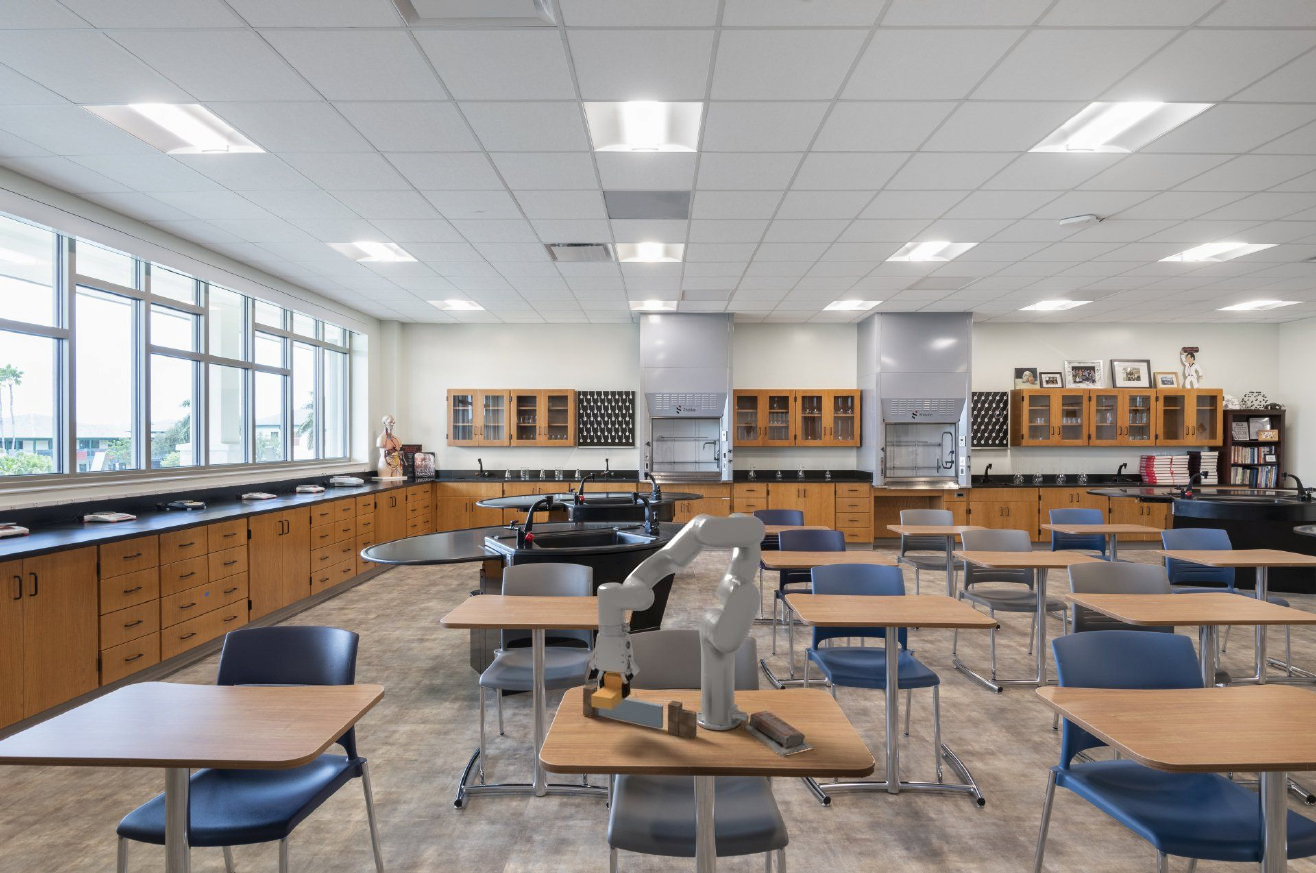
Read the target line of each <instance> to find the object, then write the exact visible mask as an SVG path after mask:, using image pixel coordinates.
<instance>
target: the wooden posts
mask: <svg viewBox="0 0 1316 873" xmlns="http://www.w3.org/2000/svg"><path fill="white" fill-rule="evenodd" d="M597 691H598V685H594V684H587V685H586V686H584V687H583V689H582V716H583V715H585V716H584V717H587V716H588V717H587V718H591V717H592V718H593V717H594V715H595V716H597V715H596V707H592V702H591V695H593V694H594V693H595V692H597ZM697 713H698V712H697V711H694V710H690V709H683V701H676V700H671V701H670V702H669V703H668V704H667V735H671V736H675V737H679V736H682V737H685V738H690V739H696V737H698V736H697V733H698V732H697V726H698V724H697Z"/></svg>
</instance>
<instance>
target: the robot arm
mask: <svg viewBox="0 0 1316 873" xmlns="http://www.w3.org/2000/svg"><path fill="white" fill-rule="evenodd" d="M766 531H767V529H766V526H765V524H764V522H763V520H761V519H760V518H759V517H757V516H754V515H751V514H747V513H744V512H732V513H731V514H730V515H728V516H727V517H726V516H725V517H724V516H714V515H711V514H706V513H700V514H697V515H695V516H694V517H693V518H691V519H690V520H689V522H688V523H686V524H685V525H684V526H683V528H682V529H681V530H679V531H678V532H677V533H676V535H674V536H673V537H672V538H671V539H670V540H669V541H668V542H667V543H666V544H665V545H664V546H663V547H662V548H661V549H658V550H657V551H656V552H655V553H653V554H652V555H651V556H649V557H647V558H646V559H644V561H642V562H641V563H640V564H639V565H638V566H637V567H636V568H635V569H634V570H633V571H632V572H631V573H630V574H629V575H628V576H627V577H626V578H625V580H624V581H623V583H619V582H606V583H602V584H600V585H599V586H598V587H597V591H596V592H597V593H596V594H597V614H598V615H597V616H598V618H597V619H598V633H597V635H596V638H595V640H596V641H595V648H594V649H595V650H594V658H592V660H591V661H590V662H588V667H589V668H590V669H591V670H592V671H593V673H594V674H595V676H596V678H597V680H598V682H599V685H598V686H599V689H601V688H602V687H603V686H604V675H605V674H606V673H607V672H616V673H620V675H621V677H622V680H623V683H622V698H626V697H627V696H628V695H629V694H630V687H631V681H632V679H634V677H635V676H637V674H638V673H639V672H640V671H641V668H640V667H639V666H638V664H637V663H636V662H635V661H634V651H633V644H632V640H631V636H630V633H629V632H630V631H631V627H630V626H628V625H627V619H626V618H627V617H626V616H627V615H626V612H627V611H635V612H637V611H638V612H639V611H640V612H641V611H645V610H648V609H649V608H650V607H652V605H653V603H654V601H655V593H654V590H653V588H654V586H655V585H656V584H658V582H660V581H661V580H662V579H664V578H665V577H667V576H668V575H671V574H674V573H676V574H677V573H680V572H682V571H683V570H686V568H687V567H689V565H690V564H691V563H692V562H693V561H694V560H695V559H696V558H697V557H698V556H700V554H701V553H702V552H703V551H704V550H705V549H706V548H711V549H730V548H731V555H730V557H729V561H728V563H727V566H726V568H725V570H724V573H723V575H722V578H721V579H720V581H719V584H718V587H717V590H716V596H717V598H718V601H719V602H720V603H721V604H722V605H723V608H722V609H721V608H710V609H708V610H706V611H705V612H704V613H703V614H702V616H701V617H700V620H699V625H698V632H699V641H700V642H699V643H700V658H701V660H700V663H701V665H700V669H701V670H700V672H701V673H700V690H701V691H700V698H701V699H700V711H699V712H697V725H699V727H701V728H703V729H706V730H707V729H708V730H710V731H711V730H713V731H729V730H732V729H735V728H737V727H738V726H739V725H740V723H749V719H750V718H749V717H750V716H749V715H748V712H747V711H741V710H740V709H738V708H739V706H738V704H735V667H736V666H735V664H736V662H735V660H736V659H735V653H736V652H738V651H739V650H740V649H741V648H742V647H743V646H744V644H745V642H747V639H748V635H749V633H750V632H751V629H752V627H753V624H754V621H755V620H756V617H757V614H758V612H759V609H760V606H761V592H760V590H759V588H758V587H757V586H756V585H755V584H754V581H755V578H756V575H757V572H758V569H759V566H760V563H761V559H762V558H761V557H762V548H761V544H762V543H763V541H764V539H765V537H766V534H767V532H766ZM630 670H632V671H631V672H630ZM630 695H631V694H630ZM630 695H629V696H630ZM629 696H628V697H629ZM628 697H627V698H628Z"/></svg>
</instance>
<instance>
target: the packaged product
mask: <svg viewBox="0 0 1316 873" xmlns="http://www.w3.org/2000/svg"><path fill="white" fill-rule="evenodd" d="M749 717H750V718H749V719H750V721H749V724H747V723H746V724H745V725H744V730H745V731H747V732H748V733H749V734H751V735H752V736H753V735H754V736H753V737H755V739H757V740H758V739H759V740H758V741H760V742H761V743H762V744H763V745H765V746H766V747H768V748H769V749H770V748H771V749H770V750H772V751H773V750H774V751H773V752H775V753H776V752H777V753H776V754H777V755H779V754H780V755H782V756H784V757H786V756H785V755H787V754H791V753H794V752H799V751H801V750H805V749H808V748H813V749H814V745H812V744H810V743H809V742H808V741H806V740H805V737H806V736H805V734H804V733H803V732H801V731H800V730H798V729H797V728H795V727H794V726H792V725H791V724H789V723H788V722H786V721H785V720H784V719H782V718H780V717H778V716H777V715H776V714H775V713H773V712H772V711H768V710H762V711H760V712H759V711H758V712H754V713H751V714H750V716H749ZM780 755H779V756H780ZM782 756H781V757H782Z"/></svg>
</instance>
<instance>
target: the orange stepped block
mask: <svg viewBox="0 0 1316 873" xmlns="http://www.w3.org/2000/svg"><path fill="white" fill-rule="evenodd" d="M622 683H623V680H622V677H621V675H620V673H616V672H608V671H607V673H606V674H605V675H604V686H603V687H602V688H601V689H600V688H599V689H597V692H595V693H594V694H593V695H591V702H592V707H596V708H602V709H609V710H612V709H613V708H614V707H616V706H617V705H618V704H619V703H620V702H622V701H623V700H624V699H625V698H622ZM631 693H632V692H631V686H630V694H629V695H628V696H627V697H626V698H628V697H629V696H631V695H632V694H631Z"/></svg>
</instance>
